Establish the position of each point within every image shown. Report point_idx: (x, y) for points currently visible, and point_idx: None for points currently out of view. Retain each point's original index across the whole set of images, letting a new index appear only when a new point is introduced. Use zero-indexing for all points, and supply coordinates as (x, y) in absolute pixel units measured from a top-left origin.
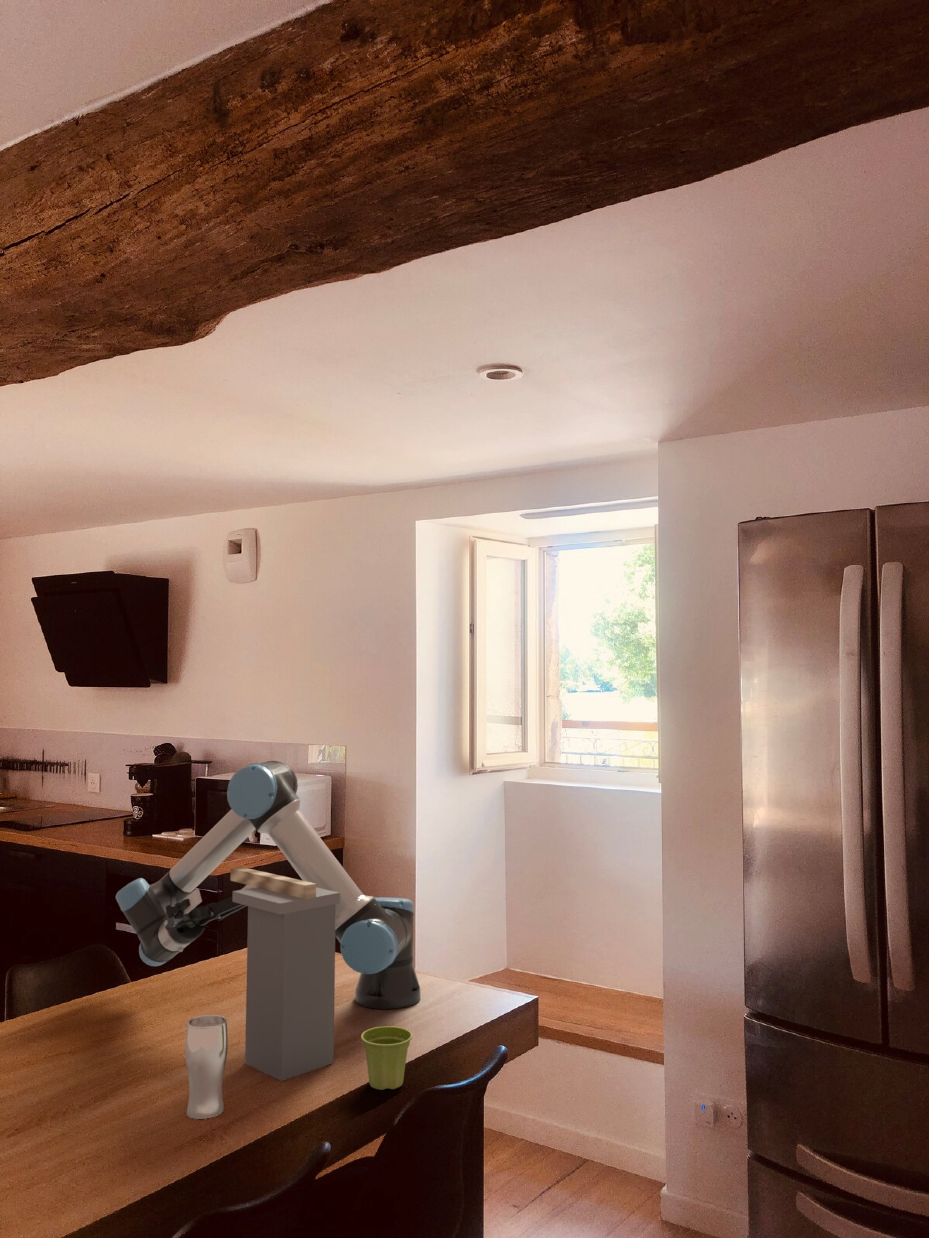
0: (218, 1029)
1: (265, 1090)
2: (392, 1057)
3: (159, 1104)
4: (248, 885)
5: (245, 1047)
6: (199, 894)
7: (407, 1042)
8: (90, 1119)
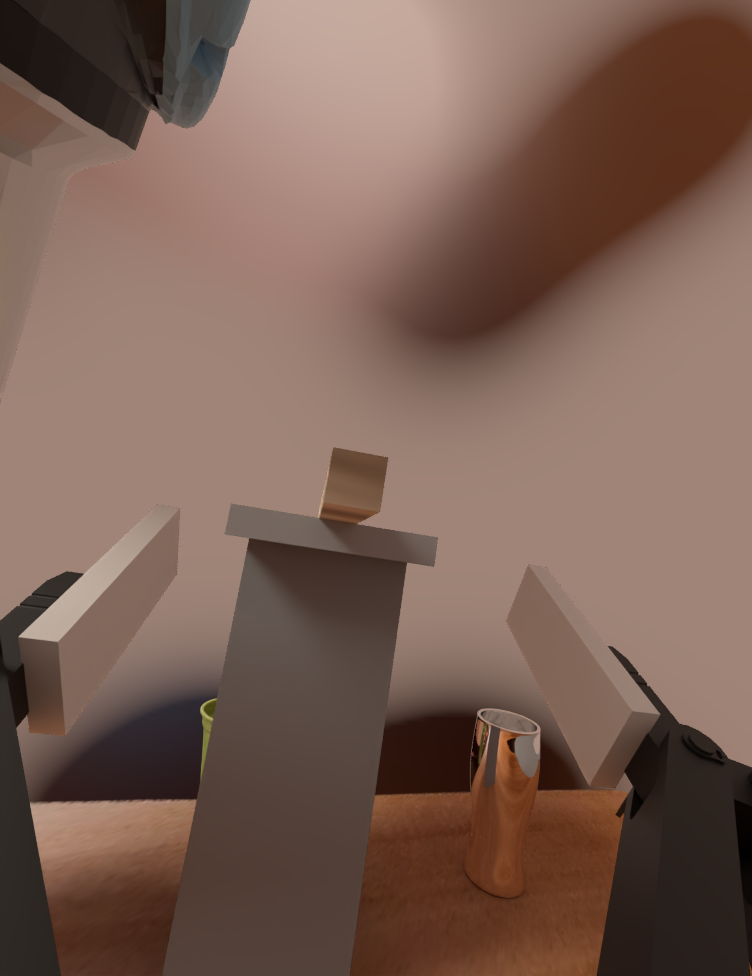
0: (493, 715)
1: (377, 871)
2: None
3: (578, 952)
4: (154, 545)
5: (350, 965)
6: (521, 591)
7: None
8: None
